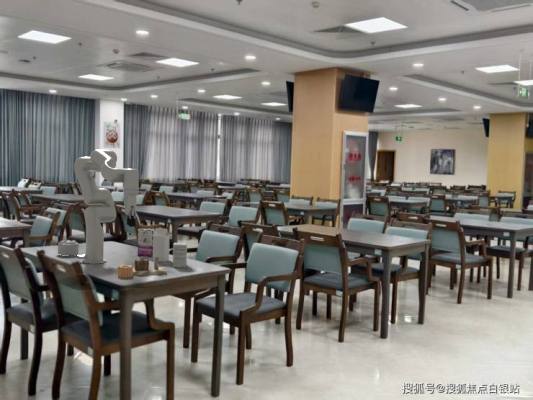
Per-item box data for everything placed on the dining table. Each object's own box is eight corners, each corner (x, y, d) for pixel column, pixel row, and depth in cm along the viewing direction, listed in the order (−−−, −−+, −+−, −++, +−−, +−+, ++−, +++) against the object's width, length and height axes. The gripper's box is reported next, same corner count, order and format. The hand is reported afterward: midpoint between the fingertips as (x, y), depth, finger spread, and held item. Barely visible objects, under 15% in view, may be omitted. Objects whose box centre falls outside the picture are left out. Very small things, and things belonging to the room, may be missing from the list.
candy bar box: (157, 256, 326) (157, 229, 325) (152, 257, 322) (153, 230, 321) (141, 254, 330) (142, 228, 329) (137, 255, 326) (137, 228, 325)
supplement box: (173, 264, 300) (174, 242, 299) (186, 265, 301) (187, 242, 300) (172, 267, 293) (172, 244, 292) (185, 267, 293) (186, 244, 292)
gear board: (133, 274, 268) (133, 259, 268) (131, 270, 279) (131, 255, 278) (166, 273, 274) (167, 258, 273) (163, 269, 284) (164, 254, 284)
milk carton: (164, 262, 307) (165, 229, 306) (152, 261, 308) (153, 228, 307) (168, 260, 314) (169, 228, 313) (157, 259, 315) (158, 227, 314)
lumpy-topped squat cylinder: (63, 257, 311) (63, 242, 311) (54, 253, 321) (54, 239, 320) (80, 255, 318) (80, 241, 318) (71, 252, 328) (71, 238, 327)
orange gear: (118, 277, 260) (118, 267, 260) (117, 274, 267) (117, 265, 267) (133, 277, 263) (133, 267, 262) (131, 274, 269) (132, 264, 269)
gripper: (122, 192, 280) (122, 224, 281) (125, 193, 264) (125, 227, 265) (136, 192, 283) (136, 224, 284) (140, 193, 267) (140, 227, 267)
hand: (131, 225), depth 274 cm, fingers open, 9 cm apart
